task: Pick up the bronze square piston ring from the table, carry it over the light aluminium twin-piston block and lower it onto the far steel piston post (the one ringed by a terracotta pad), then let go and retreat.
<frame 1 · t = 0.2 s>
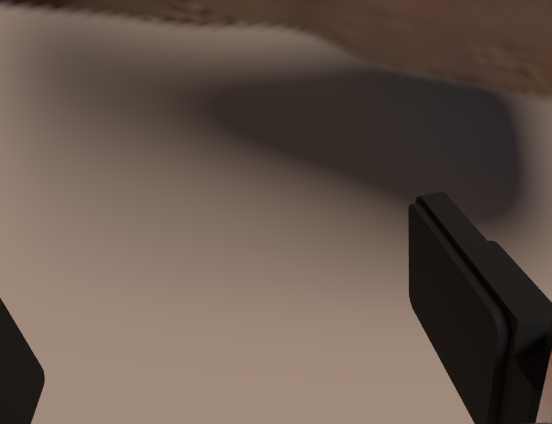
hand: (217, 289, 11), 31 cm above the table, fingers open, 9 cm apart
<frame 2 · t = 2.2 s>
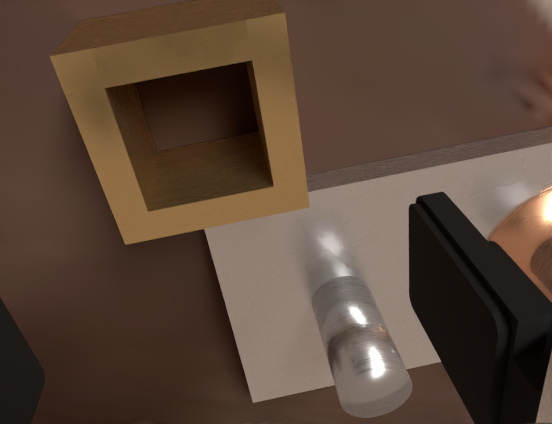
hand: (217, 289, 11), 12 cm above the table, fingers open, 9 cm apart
bronze ring: (195, 92, 20), on the table
piston block: (438, 259, 27), on the table
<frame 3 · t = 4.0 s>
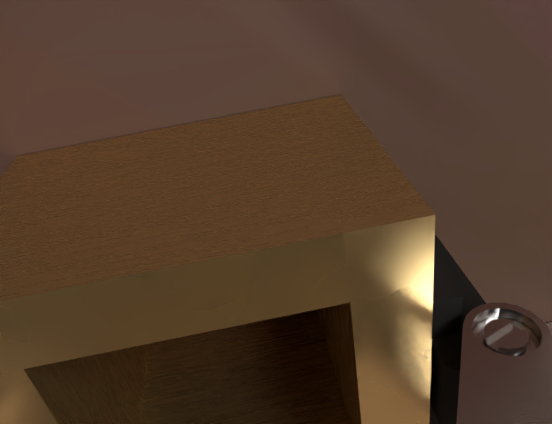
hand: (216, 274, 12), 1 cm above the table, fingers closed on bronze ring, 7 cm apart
bronze ring: (215, 255, 12), on the table, touching gripper
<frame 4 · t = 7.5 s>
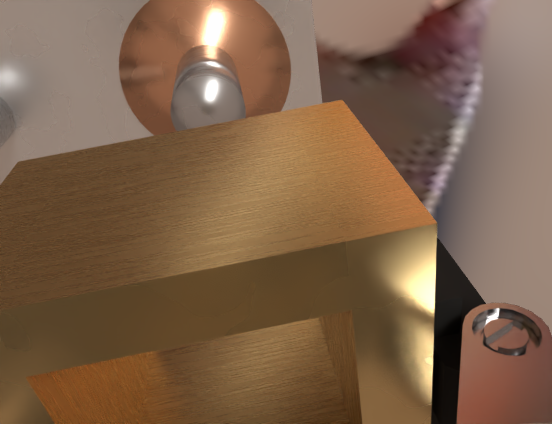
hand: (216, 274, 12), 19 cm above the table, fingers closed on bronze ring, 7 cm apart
bronze ring: (216, 259, 12), point 18 cm above the table, touching gripper
piston block: (100, 87, 27), on the table
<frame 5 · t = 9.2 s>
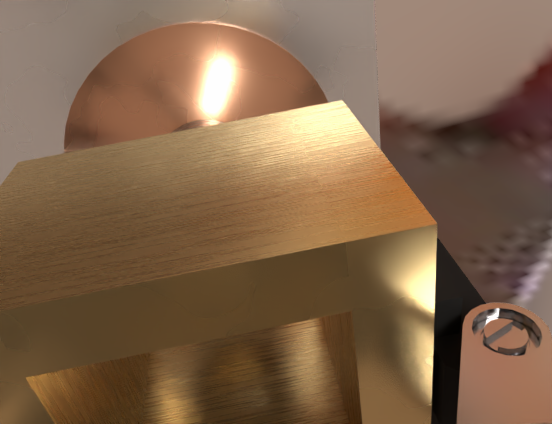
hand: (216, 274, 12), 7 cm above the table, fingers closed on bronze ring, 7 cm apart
bronze ring: (216, 259, 12), point 7 cm above the table, touching gripper
piston block: (42, 176, 18), on the table
when the fingers open (4 cm above the table, at t = 11.0 s): bronze ring drops 1 cm, resting on piston block.
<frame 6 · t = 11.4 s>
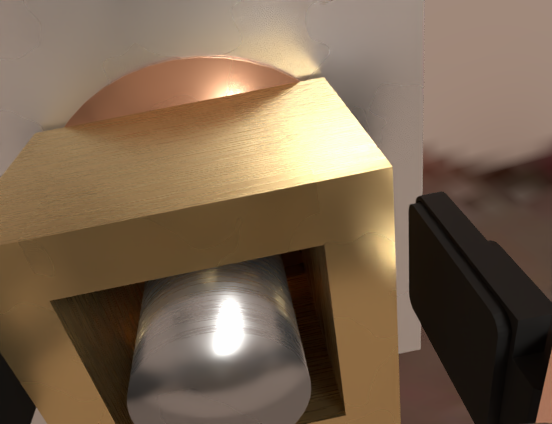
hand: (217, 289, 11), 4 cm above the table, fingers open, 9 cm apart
bronze ring: (213, 225, 13), point 2 cm above the table, touching piston block
piston block: (17, 232, 15), on the table
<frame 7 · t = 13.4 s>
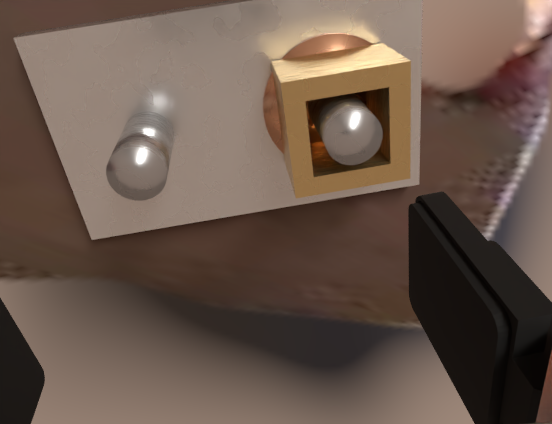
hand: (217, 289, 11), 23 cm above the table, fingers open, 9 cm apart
bronze ring: (331, 106, 32), point 2 cm above the table, touching piston block
piston block: (239, 112, 33), on the table
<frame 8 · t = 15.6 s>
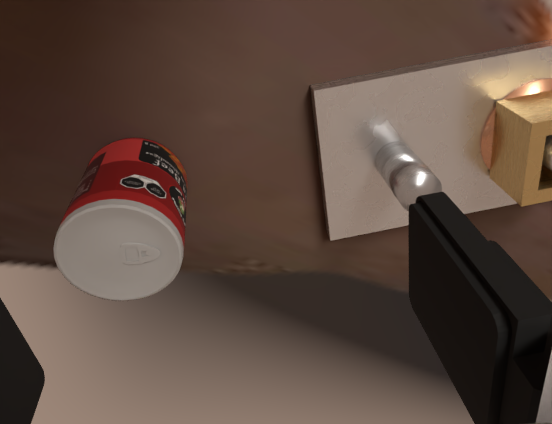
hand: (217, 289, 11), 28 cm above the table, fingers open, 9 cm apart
canned food: (138, 176, 40), on the table
bronze ring: (533, 133, 41), point 2 cm above the table, touching piston block
piston block: (455, 138, 42), on the table
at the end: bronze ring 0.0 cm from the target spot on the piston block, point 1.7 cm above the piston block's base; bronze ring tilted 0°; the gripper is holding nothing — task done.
